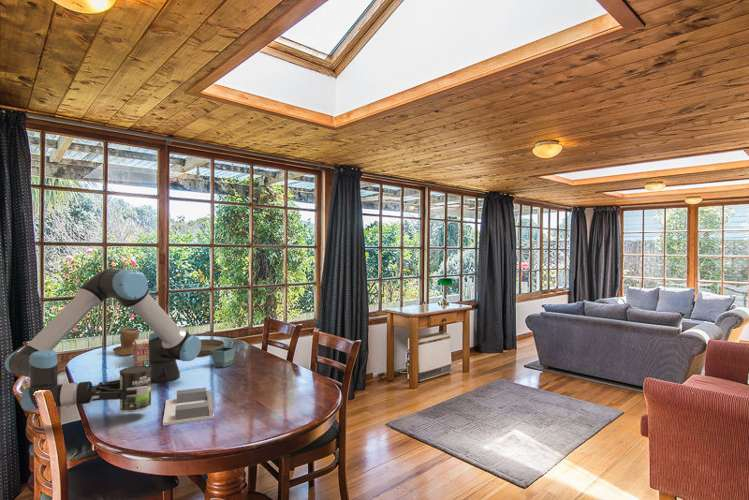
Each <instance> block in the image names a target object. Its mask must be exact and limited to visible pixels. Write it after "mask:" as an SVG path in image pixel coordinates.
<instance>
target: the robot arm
mask: <svg viewBox="0 0 749 500" xmlns="http://www.w3.org/2000/svg"><path fill="white" fill-rule="evenodd" d="M148 284H149V282H148V279H147V277H146V276H145V274H144V273H142V272H141V271H139V270H134V269H130V268H129V269H127V268H125V269H121V268H120V269H118V268H117V269H116V268H106V269H104V270H101V271H99V272H97V273H96V274H95V275H93V276H92V277H90V278H89V279H88V280H87V281H86V282H85V283H84V284H83V285H81V287H80V288H79V289H78V291H77V292H78V293H77V294H76V295H75V297H74V298H73V299H72V300H71V301H70V302H68V303H67V304H66V305H65V307H64V308H62V309H61V310H60V311H59V313H57V314H56V315H55V316H54V317H53V318H52V319H51V321H49V322H48V323H47V325H45V326H44V327H43V329H41V330H40V331H39V332H38V333H37V334H36V335H35V336H34V337H33V338H32V339H31V340H30V341H29V342H28V343H27V344H25V346H24V347H23V348H22V349H21V350H19V351H15V352H12V353H11V354H8V356H7V357H6V358H5V361H4V367H5V369H6V371H7V372H10V373H11V374H14V375H18V376H23V377H27V378H29V387H25V388H24V389H23V391H22V392H21V397H20V405H21V408H22V409H23V410H24V411H35V410H38V406H37V402H36V400H35V397H34V395H33V394H34V392H35V391H38V390H50V391H51V392H52V394H53V397H54V401H55V403H56V407H55V408H60V407H66V408H69V407H70V406H76V404H78V405H86V404H90V403H91V402H96V401H97V402H98V401H112V400H116V401H117V400H120V399H123V400H124V399H126V396H135V395H143V394H148V386H142V387H134V388H127V391H126V389H120V379H117V380H116V379H114V380H110V381H102V382H101V381H100V382H98V384H97V385H93V383H92V381H89V380H88V381H80V382H79V383H77V382H69V383H61V384H60V383H59V384H58V365H59V364H58V362H59V359H58V353H57V351H55V350H54V349H55V348H56V347H57V345H59V344H60V343H61V342H62V341H63V340H64V339H65V337H66V336H68V334H69V333H70V332H71V331H72V330H73V329H74V328H75V327H76V326H77V325H78V324H79V323H80V322H81V321H82V320H83V319H84V318H85V317H86V316H87V314H89V312H91V310H92V309H94V307H95V306H99V305H101V304H102V303H103V302H104V301H105V300H106V299H108V298H112V299H116V300H117V301H118V303H120V304H121V305H122V307H124V308H127V309H128V308H130V309H131V310H132V311H133V312H134V313H135V314H136V315H137V316H138V317H139V318H140V319H141V320H142V321H143V322H144V323H145V325H147V327H149V328H150V330H152V331H153V332H152V331H151V333H149V335H148V342H149V365H148V366H150V367H151V384H164V383H170V382H173V381H176V380H179V379H180V377H181V373H180V370H179V366H178V363H177V361H182V362H191V361H194V360H195V359H196V358H198V357H197V356H198V354H199V352H200V349H201V341H200V340H201V339H200V338H199V337H198V336H196V335H192V334H190V333H189V331H188V330H187V329H186V328H185V327H183V326H178V325H177V323H175V321H174V320H173V319H172V318H171V317H170V315H168V313H167V312H166V311H165V310H164V309H163V308H162V307H161V306H160V305H159V304H158V302H157V301H156V300H155V299H154V298H153V297H152V295H150V288H149V285H148ZM38 411H39V410H38Z"/></svg>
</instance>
